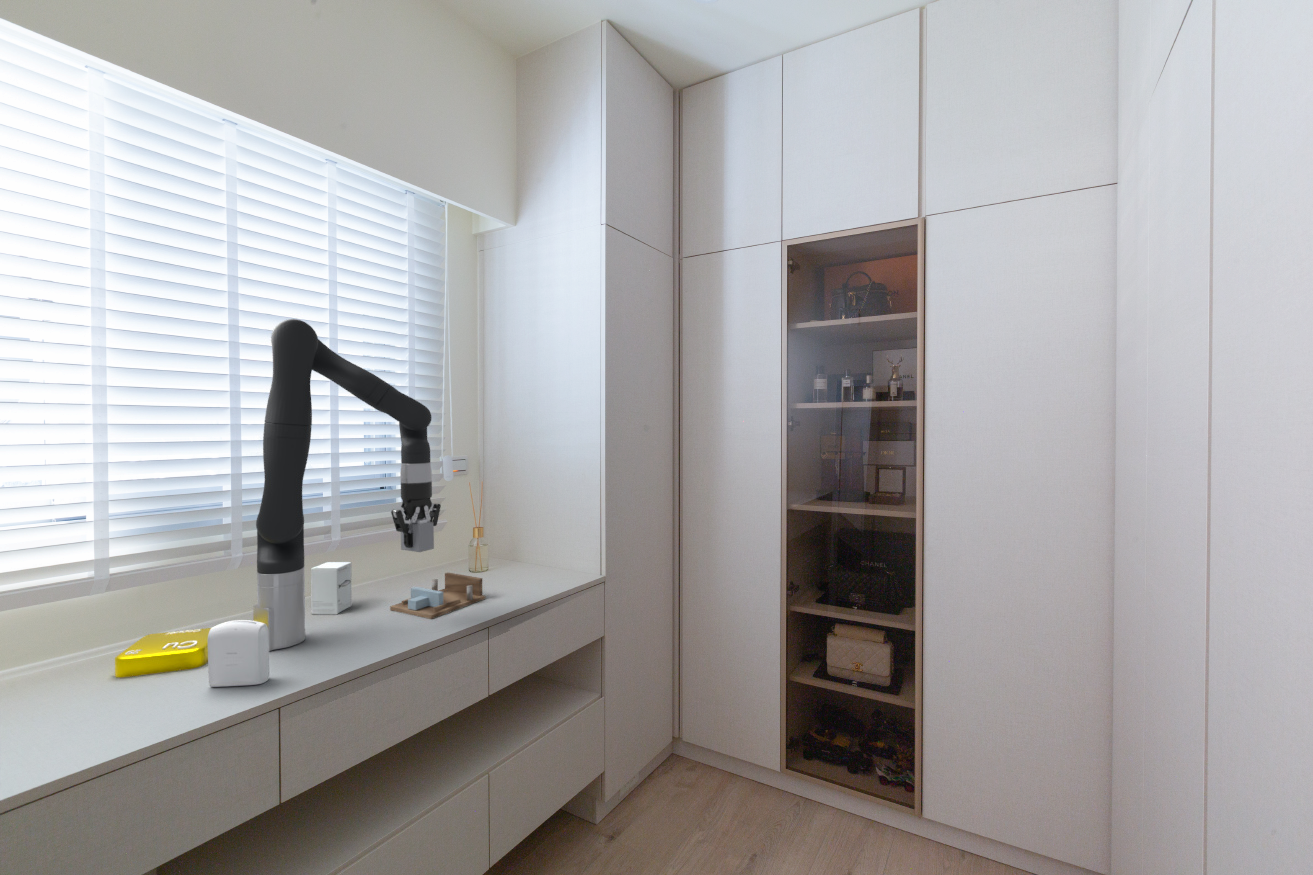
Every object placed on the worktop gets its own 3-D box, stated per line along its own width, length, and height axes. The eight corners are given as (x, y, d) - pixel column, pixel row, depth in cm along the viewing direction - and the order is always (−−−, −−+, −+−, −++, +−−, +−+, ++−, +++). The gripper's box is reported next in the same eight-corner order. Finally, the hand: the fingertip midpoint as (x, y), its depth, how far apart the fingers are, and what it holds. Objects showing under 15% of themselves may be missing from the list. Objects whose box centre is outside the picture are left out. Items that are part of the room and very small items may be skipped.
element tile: (226, 643, 133) (226, 623, 133) (201, 669, 119) (201, 647, 119) (146, 652, 127) (145, 631, 127) (110, 681, 113) (109, 657, 113)
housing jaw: (426, 612, 150) (426, 597, 150) (397, 606, 155) (397, 591, 155) (443, 606, 156) (443, 591, 155) (415, 600, 161) (415, 586, 160)
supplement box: (337, 614, 152) (337, 568, 152) (310, 614, 152) (309, 567, 152) (352, 606, 159) (352, 561, 159) (326, 605, 159) (326, 561, 159)
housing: (431, 618, 149) (431, 596, 149) (390, 609, 156) (390, 588, 156) (484, 598, 166) (484, 578, 166) (445, 591, 173) (445, 571, 173)
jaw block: (419, 552, 144) (418, 521, 144) (400, 549, 147) (400, 519, 147) (433, 548, 148) (433, 519, 148) (415, 546, 151) (415, 517, 151)
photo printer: (204, 689, 109) (203, 625, 109) (218, 679, 113) (218, 617, 113) (260, 686, 110) (259, 623, 110) (273, 677, 114) (272, 616, 114)
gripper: (402, 483, 139) (403, 552, 140) (448, 478, 152) (449, 541, 152) (382, 482, 143) (383, 549, 143) (428, 477, 155) (429, 539, 156)
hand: (417, 545), depth 148 cm, fingers closed on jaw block, 4 cm apart
